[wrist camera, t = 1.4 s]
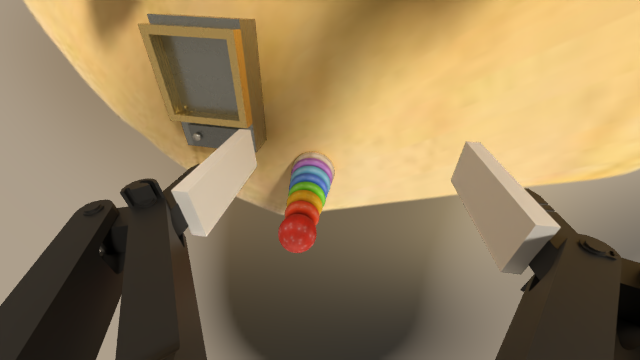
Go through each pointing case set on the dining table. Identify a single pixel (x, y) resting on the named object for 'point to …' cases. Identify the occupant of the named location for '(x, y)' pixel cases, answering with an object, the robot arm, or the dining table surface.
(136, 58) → the dining table surface
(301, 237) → the stacking toy
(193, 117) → the gray gold-framed box
